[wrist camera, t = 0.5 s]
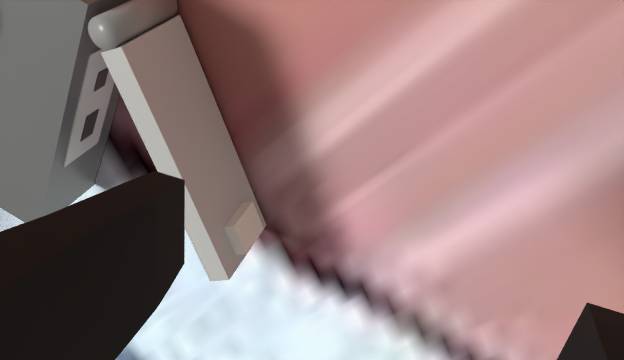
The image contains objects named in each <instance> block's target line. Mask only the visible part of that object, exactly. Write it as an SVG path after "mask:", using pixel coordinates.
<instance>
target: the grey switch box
mask: <svg viewBox="0 0 624 360" xmlns="http://www.w3.org/2000/svg"><path fill="white" fill-rule="evenodd" d="M129 1H131V0H0V207H1V208H2V209H4V210H6V211H7V212H9V213H10V214H12V215H14V216H15V217H17V218H18V219H20V220H22V221H23V222H25V223H26V222H29V221H32V220H34V219H37V218H40V217H42V216H45V215H48V214H50V213H53V212H55V211H58V210H60V209H63V208H65V207H68V206H69V205H70V204H71V203H72V202H74V201H75V200H76V199H77V198H79V197H80V196H81V195H82V194H83V193H85V192H86V191H87V190H88V189H90V188H91V187H92V186H93V185H94V183H95V180H96V176H97V173H98V169H99V166H100V163H101V159H102V156H103V152H104V149H105V145H106V142H107V138H108V135H109V131H110V128H111V124H112V121H113V117H114V114H115V110H116V107H117V103H118V100H119V96H120V92H119V90H118V88H117V86H116V84H115V82H114V80H113V78H112V75H111V73H110V71H109V69H108V67H107V65H106V63H105V61H104V59H103V57H102V55H101V52H103V51H105V50H103V49H101V48H99V47H98V46H97V45H96V44H95V43H94V42H93V41H92V39H91V38H90V35H89V32H88V24H89V21H90V20H91V19H92V18H93V17H95V16H97V15H99V14H102V13H104V12H106V11H108V10H111V9H113V8H115V7H117V6H120V5H122V4H124V3H126V2H129Z"/></svg>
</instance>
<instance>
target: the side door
mask: <svg viewBox="0 0 624 360" xmlns="http://www.w3.org/2000/svg"><path fill="white" fill-rule="evenodd" d="M177 9H178V3H177V0H131V1H129V2H126V3H124V4H122V5H120V6H117V7H115V8H113V9H111V10H108V11H106V12H104V13H102V14H99V15H97V16H95V17H93V18H92V19H91V20H90V21H89V24H88V32H89V35H90V38H91V39H92V41H93V42H94V43H95V44H96V45H97V46H98V47H99V48H101V49H103V50H105V51H103V52H101V55H102V57H103V59H104V61H105V63H106V65H107V67H108V69H109V71H110V73H111V75H112V78H113V80H114V82H115V84H116V86H117V88H118V90H119V92H120V94H121V96H122V98H123V100H124V103H125V105H126V107H127V109H128V111H129V113H130V115H131V117H132V119H133V121H134V123H135V126H136V128H137V130H138V132H139V134H140V136H141V138H142V140H143V142H144V144H145V146H146V148H147V151H148V153H149V155H150V157H151V159H152V161H153V163H154V165H155V167H156V169H157V171H158V172H160V173H164V174H167V175H170V176H174V177H177V178H180V179H183V180H185V227H184V228H185V230H186V232H187V234H188V236H189V238H190V240H191V242H192V244H193V246H194V249H195V251H196V253H197V255H198V257H199V259H200V261H201V263H202V265H203V267H204V269H205V271H206V274H207V276H208V278H209V280H210V281H219V280H229V279H230V278H231V276H232V275H233V273H234V272H235V270H236V269H237V268H238V266H239V265H240V263H241V262H242V260H243V259H244V257H245V256H246V254H247V253H248V251H249V250H250V249H251V247H252V246H253V244H254V243H255V241H256V240H257V238H258V237H259V235H260V234H261V232H262V231H263V229H264V228H265V227H266V223H265V221H264V218H263V216H262V213H261V211H260V208H259V206H258V204H257V201H256V199H255V196H254V194H253V191H252V189H251V187H250V184H249V182H248V179H247V177H246V174H245V172H244V170H243V167H242V165H241V162H240V160H239V157H238V155H237V152H236V150H235V148H234V145H233V143H232V140H231V138H230V135H229V133H228V131H227V128H226V126H225V123H224V121H223V118H222V116H221V114H220V111H219V109H218V106H217V104H216V101H215V99H214V97H213V94H212V92H211V89H210V87H209V84H208V82H207V79H206V77H205V75H204V72H203V70H202V67H201V65H200V62H199V60H198V58H197V55H196V53H195V50H194V48H193V45H192V43H191V41H190V38H189V36H188V33H187V31H186V28H185V26H184V24H183V21H182V19H181V16H180V15H178V16H175V17H173V16H174V15H175V14H176V12H177Z"/></svg>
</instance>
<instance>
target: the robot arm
mask: <svg viewBox="0 0 624 360" xmlns="http://www.w3.org/2000/svg"><path fill="white" fill-rule="evenodd" d="M184 227H185V180H183V179H180V178H177V177H174V176H170V175H167V174H164V173H160V172H157V171H155V172H152V173H149V174H146V175H143V176H141V177H138V178H136V179H133V180H130V181H128V182H126V183H123V184H121V185H118V186H116V187H114V188H111V189H109V190H106V191H104V192H102V193H99V194H97V195H94V196H92V197H90V198H87V199H85V200H82V201H80V202H77V203H75V204H72V205H70V206H68V207H65V208H63V209H60V210H58V211H55V212H53V213H50V214H48V215H45V216H42V217H40V218H37V219H34V220H32V221H29V222H26V223H23V224H21V225H18V226H15V227H12V228H10V229H7V230H4V231H2V232H0V360H115V359H116V358H117V357H118V355H119V354H120V353H121V352H122V351H123V349H124V348H125V347H126V346H127V344H128V343H129V342H130V341H131V340H132V338H133V337H134V336H135V335H136V333H137V332H138V331H139V330H140V328H141V327H142V326H143V325H144V323H145V322H146V321H147V320H148V318H149V317H150V316H151V315H152V313H153V312H154V311H155V310H156V308H157V307H158V306H159V304H160V302H161V301H162V299H163V298H164V296H165V294H166V293H167V291H168V290H169V288H170V287H171V285H172V283H173V281H174V280H175V278H176V276H177V275H178V273H179V271H180V270H181V268H182V266H183V265H184ZM557 360H624V314H623V313H619V312H616V311H613V310H610V309H606V308H603V307H600V306H596V305H593V304H590V303H587V304H586V306H585V307H584V309H583V311H582V313H581V315H580V317H579V319H578V321H577V323H576V324H575V326H574V328H573V330H572V332H571V334H570V336H569V338H568V340H567V341H566V343H565V345H564V347H563V349H562V351H561V353H560V355H559V357H558V359H557Z"/></svg>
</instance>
